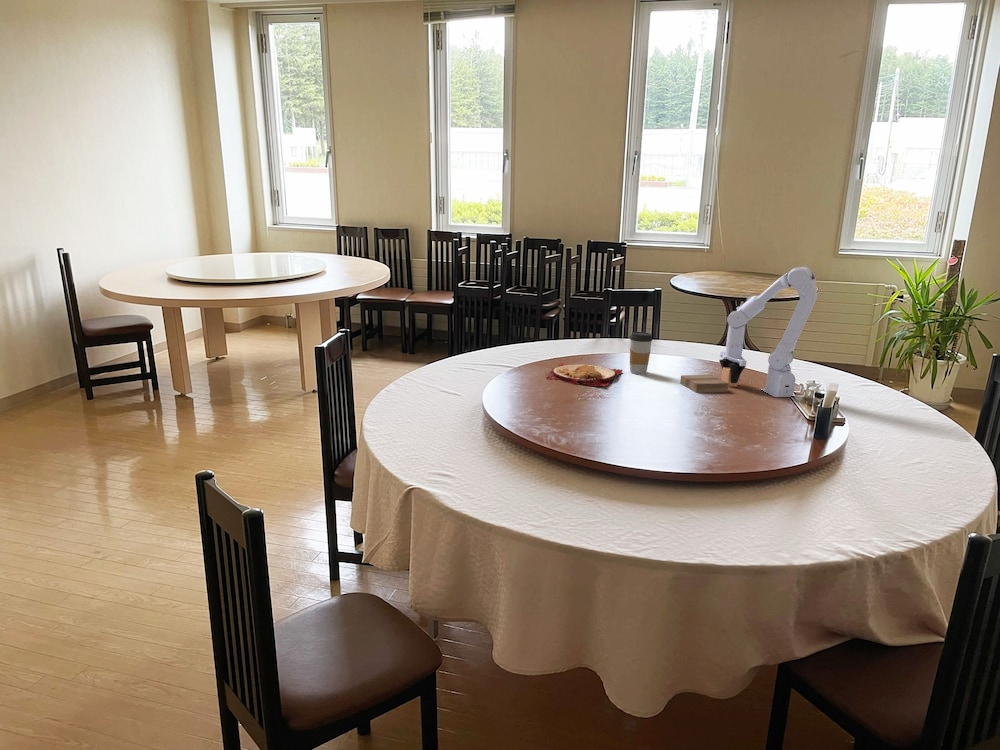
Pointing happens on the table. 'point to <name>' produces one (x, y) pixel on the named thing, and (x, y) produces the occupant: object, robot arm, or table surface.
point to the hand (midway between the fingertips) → (730, 380)
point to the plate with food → (584, 374)
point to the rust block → (728, 376)
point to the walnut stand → (704, 383)
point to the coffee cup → (639, 352)
